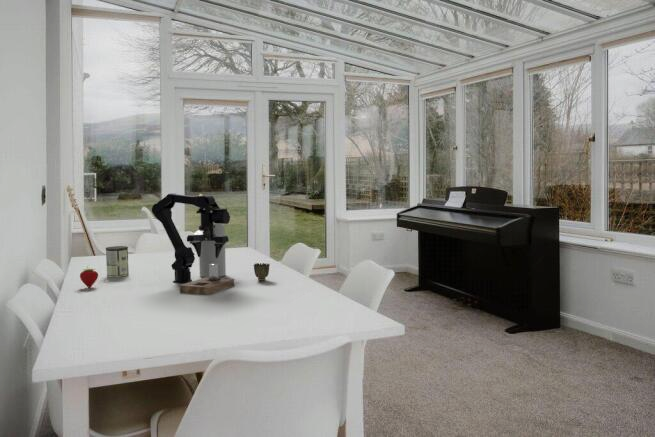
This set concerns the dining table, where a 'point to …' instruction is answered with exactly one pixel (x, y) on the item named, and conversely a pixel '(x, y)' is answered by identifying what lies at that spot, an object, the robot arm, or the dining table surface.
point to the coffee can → (117, 261)
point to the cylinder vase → (212, 254)
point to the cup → (261, 271)
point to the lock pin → (213, 272)
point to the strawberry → (89, 277)
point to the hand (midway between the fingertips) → (207, 257)
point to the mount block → (206, 286)
